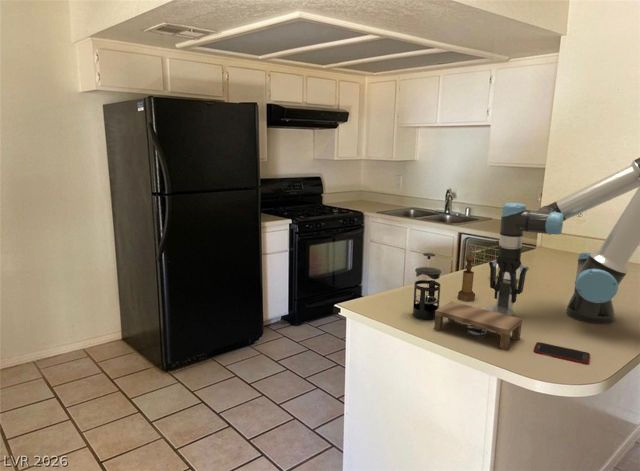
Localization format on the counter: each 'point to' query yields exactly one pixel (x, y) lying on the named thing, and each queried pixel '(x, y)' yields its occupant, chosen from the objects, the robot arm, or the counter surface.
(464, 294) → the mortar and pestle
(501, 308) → the scraper
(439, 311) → the low bench
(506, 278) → the spread jar
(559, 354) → the cell phone
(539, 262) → the counter surface
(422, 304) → the french press
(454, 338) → the counter surface
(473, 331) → the steel token
